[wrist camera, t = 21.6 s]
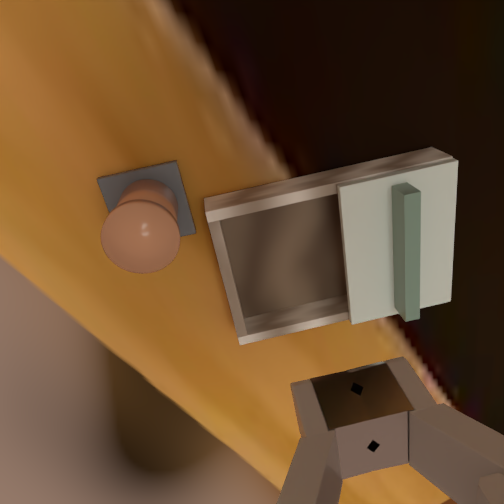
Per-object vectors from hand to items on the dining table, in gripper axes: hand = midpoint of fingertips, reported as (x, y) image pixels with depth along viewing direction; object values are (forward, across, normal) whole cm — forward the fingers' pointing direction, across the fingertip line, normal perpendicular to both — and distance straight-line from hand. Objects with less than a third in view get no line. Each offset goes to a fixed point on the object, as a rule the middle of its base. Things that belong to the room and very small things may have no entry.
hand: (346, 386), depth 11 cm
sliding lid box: (+29, -7, +12) cm, 32 cm away
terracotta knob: (+28, +9, +4) cm, 30 cm away
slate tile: (+29, +9, +4) cm, 31 cm away
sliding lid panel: (+25, -13, +12) cm, 31 cm away
